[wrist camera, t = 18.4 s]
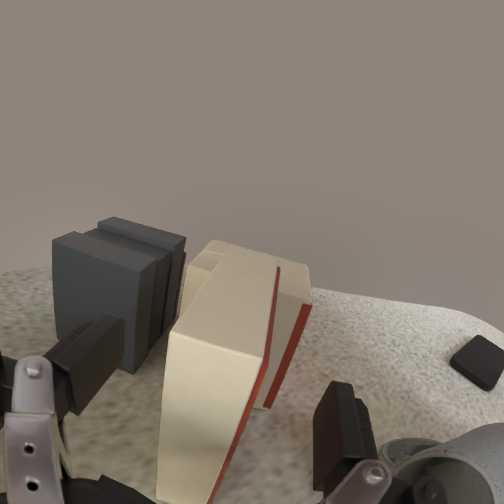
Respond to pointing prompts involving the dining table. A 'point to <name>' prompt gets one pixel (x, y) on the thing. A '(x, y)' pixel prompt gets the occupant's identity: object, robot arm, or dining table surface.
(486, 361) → the phone
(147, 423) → the dining table surface
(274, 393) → the ivory books
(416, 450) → the ceramic mug
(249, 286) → the thin ivory book
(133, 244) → the grey books
